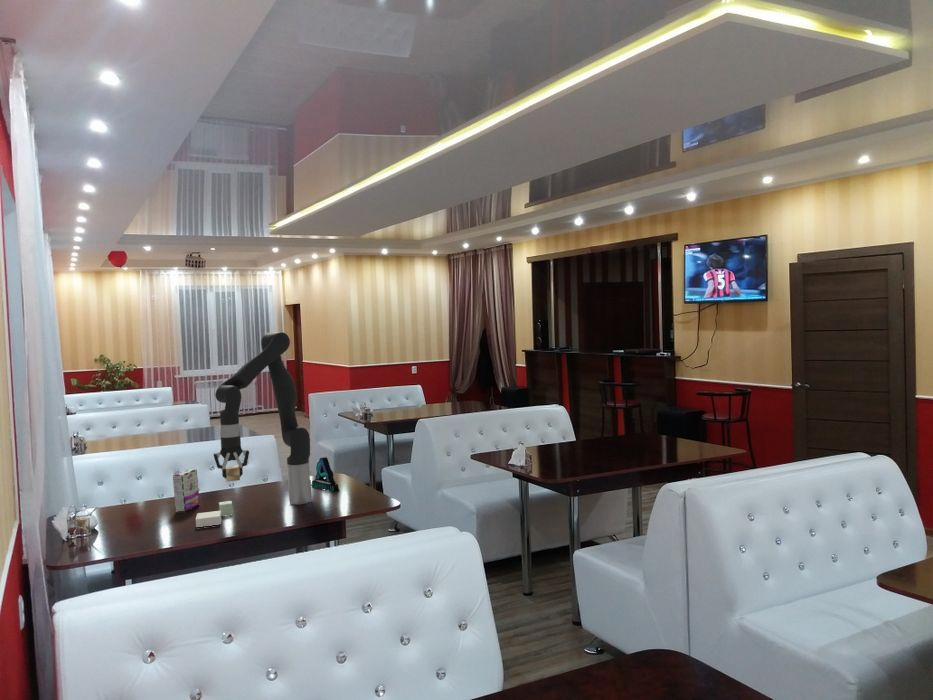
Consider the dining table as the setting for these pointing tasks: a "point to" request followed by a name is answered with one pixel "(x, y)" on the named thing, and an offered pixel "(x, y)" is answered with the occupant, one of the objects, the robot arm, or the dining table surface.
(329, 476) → the decorative sign
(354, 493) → the dining table surface
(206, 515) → the cream block
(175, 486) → the candy bar box
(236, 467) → the oak cube
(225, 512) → the sage cube
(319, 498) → the dining table surface
